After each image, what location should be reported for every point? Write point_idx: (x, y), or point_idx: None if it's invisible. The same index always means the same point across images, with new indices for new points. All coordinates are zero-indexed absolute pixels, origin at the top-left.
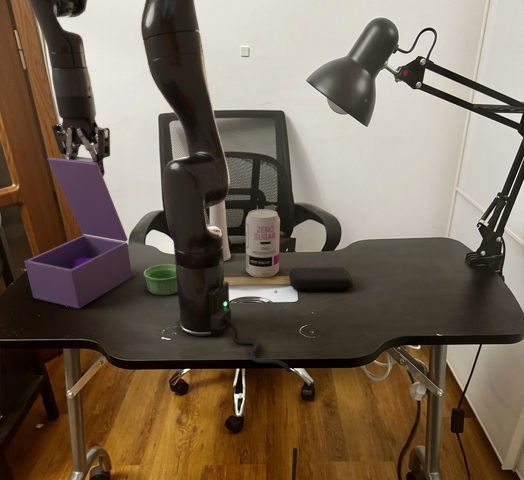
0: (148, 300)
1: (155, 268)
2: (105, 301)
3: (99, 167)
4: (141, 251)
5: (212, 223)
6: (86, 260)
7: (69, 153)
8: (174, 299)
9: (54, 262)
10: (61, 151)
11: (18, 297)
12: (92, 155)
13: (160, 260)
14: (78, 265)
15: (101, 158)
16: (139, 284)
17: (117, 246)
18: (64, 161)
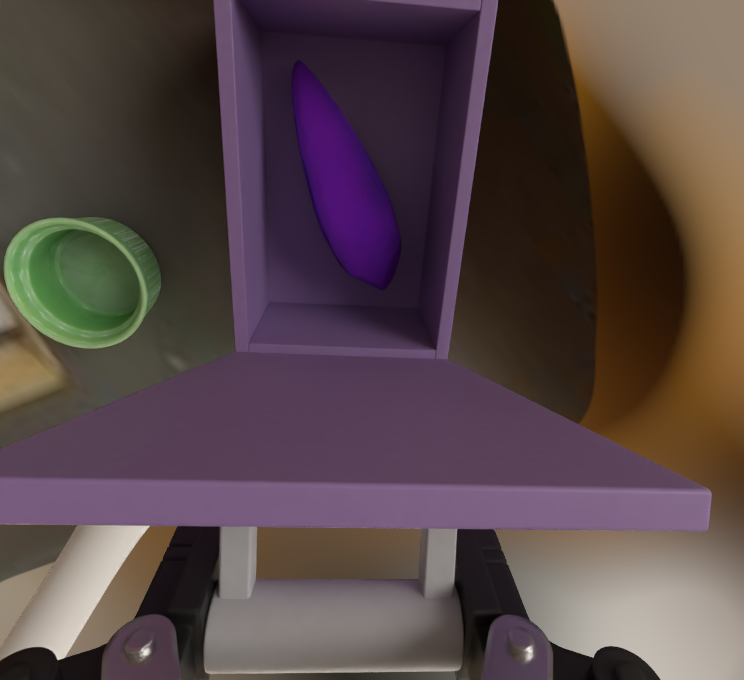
0: (92, 173)
1: (138, 312)
2: (211, 110)
3: (159, 571)
4: None
5: (65, 583)
6: (351, 232)
7: (507, 663)
8: (25, 212)
9: (449, 162)
10: (622, 672)
11: (510, 18)
12: (155, 674)
13: None
14: (357, 189)
15: (29, 650)
16: (203, 268)
17: (240, 306)
18: (445, 483)
